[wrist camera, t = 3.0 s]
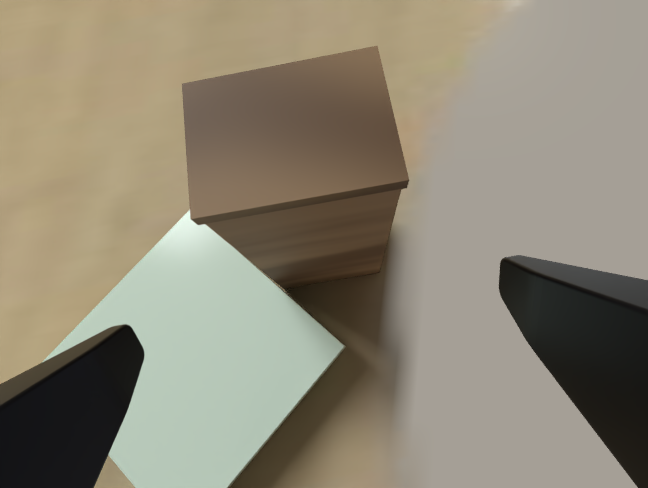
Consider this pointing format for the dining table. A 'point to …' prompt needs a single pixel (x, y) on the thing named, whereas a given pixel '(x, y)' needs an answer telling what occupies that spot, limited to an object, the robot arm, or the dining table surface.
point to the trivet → (206, 360)
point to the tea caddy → (297, 165)
